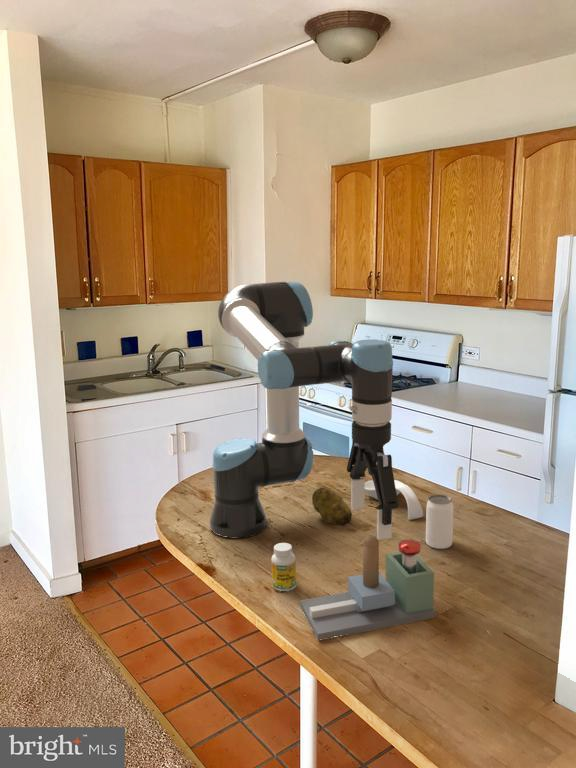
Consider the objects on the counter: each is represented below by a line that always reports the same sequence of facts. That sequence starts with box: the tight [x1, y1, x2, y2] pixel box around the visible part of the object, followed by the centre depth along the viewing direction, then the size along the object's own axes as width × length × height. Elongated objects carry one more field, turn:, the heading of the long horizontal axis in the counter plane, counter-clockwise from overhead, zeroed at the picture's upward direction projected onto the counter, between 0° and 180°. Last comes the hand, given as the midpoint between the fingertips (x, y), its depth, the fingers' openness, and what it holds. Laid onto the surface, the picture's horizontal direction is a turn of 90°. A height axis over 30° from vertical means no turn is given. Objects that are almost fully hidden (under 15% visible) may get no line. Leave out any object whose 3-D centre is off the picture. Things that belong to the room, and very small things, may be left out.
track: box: [299, 551, 436, 641], centre depth 129 cm, size 12×25×10 cm, turn 105°
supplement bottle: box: [270, 542, 297, 592], centre depth 140 cm, size 5×5×10 cm
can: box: [425, 494, 454, 550], centre depth 157 cm, size 6×6×12 cm
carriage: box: [347, 534, 395, 612], centre depth 129 cm, size 8×7×15 cm
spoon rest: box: [365, 479, 424, 521], centre depth 182 cm, size 24×12×7 cm, turn 24°
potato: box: [311, 486, 353, 526], centre depth 173 cm, size 8×13×8 cm, turn 19°
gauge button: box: [398, 539, 422, 574], centre depth 131 cm, size 4×4×9 cm
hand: (370, 522), depth 127 cm, fingers open, 13 cm apart
